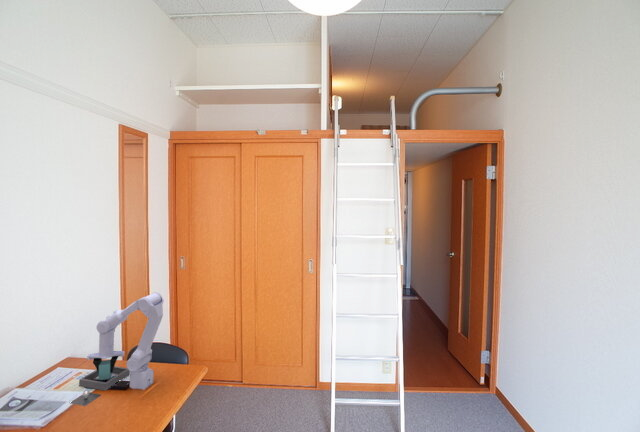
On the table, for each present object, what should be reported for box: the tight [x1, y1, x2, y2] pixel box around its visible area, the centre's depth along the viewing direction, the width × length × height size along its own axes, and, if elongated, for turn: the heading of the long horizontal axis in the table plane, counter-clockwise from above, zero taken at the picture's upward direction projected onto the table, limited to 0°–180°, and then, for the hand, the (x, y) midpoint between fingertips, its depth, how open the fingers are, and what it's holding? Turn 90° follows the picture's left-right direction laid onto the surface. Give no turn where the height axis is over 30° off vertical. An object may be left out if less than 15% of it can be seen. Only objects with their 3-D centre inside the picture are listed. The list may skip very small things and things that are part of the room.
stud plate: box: [70, 390, 102, 407], centre depth 135 cm, size 8×8×4 cm
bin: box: [78, 365, 130, 391], centre depth 149 cm, size 14×14×4 cm
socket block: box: [98, 359, 113, 381], centre depth 149 cm, size 4×4×7 cm
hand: (105, 372), depth 149 cm, fingers closed on socket block, 4 cm apart
